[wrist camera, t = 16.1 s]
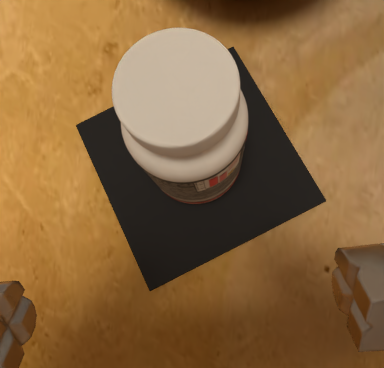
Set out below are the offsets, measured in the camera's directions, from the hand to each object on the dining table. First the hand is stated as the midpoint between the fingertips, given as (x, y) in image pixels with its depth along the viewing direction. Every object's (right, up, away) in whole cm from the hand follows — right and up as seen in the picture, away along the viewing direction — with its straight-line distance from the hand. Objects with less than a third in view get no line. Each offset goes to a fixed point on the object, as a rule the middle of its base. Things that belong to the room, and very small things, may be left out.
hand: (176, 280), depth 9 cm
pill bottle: (+1, +4, +13) cm, 14 cm away
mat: (+1, +4, +13) cm, 14 cm away
